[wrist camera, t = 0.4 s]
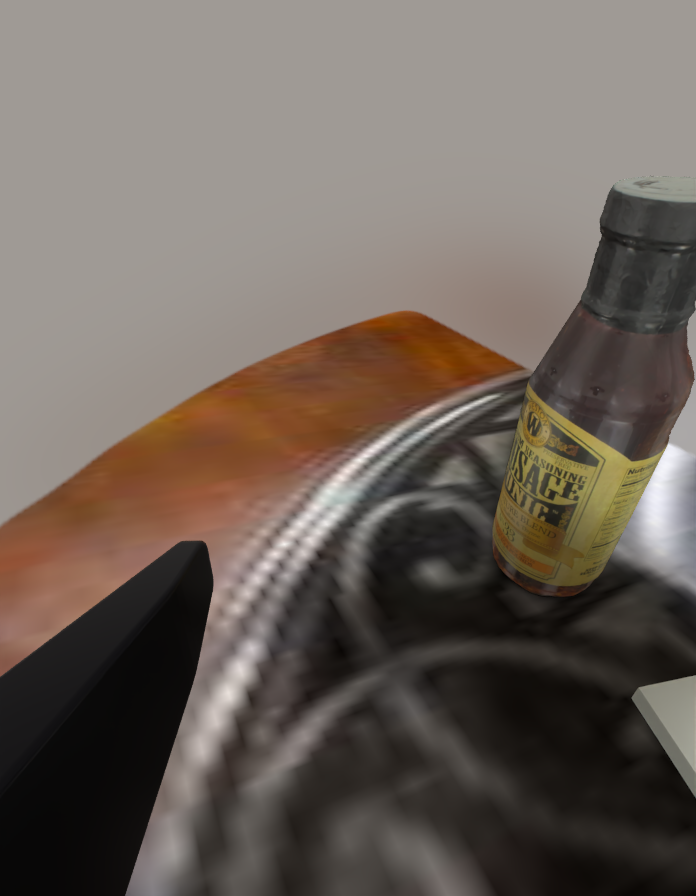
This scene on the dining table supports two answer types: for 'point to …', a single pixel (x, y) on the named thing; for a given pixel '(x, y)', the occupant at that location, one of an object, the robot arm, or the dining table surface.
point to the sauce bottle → (603, 394)
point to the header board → (673, 721)
